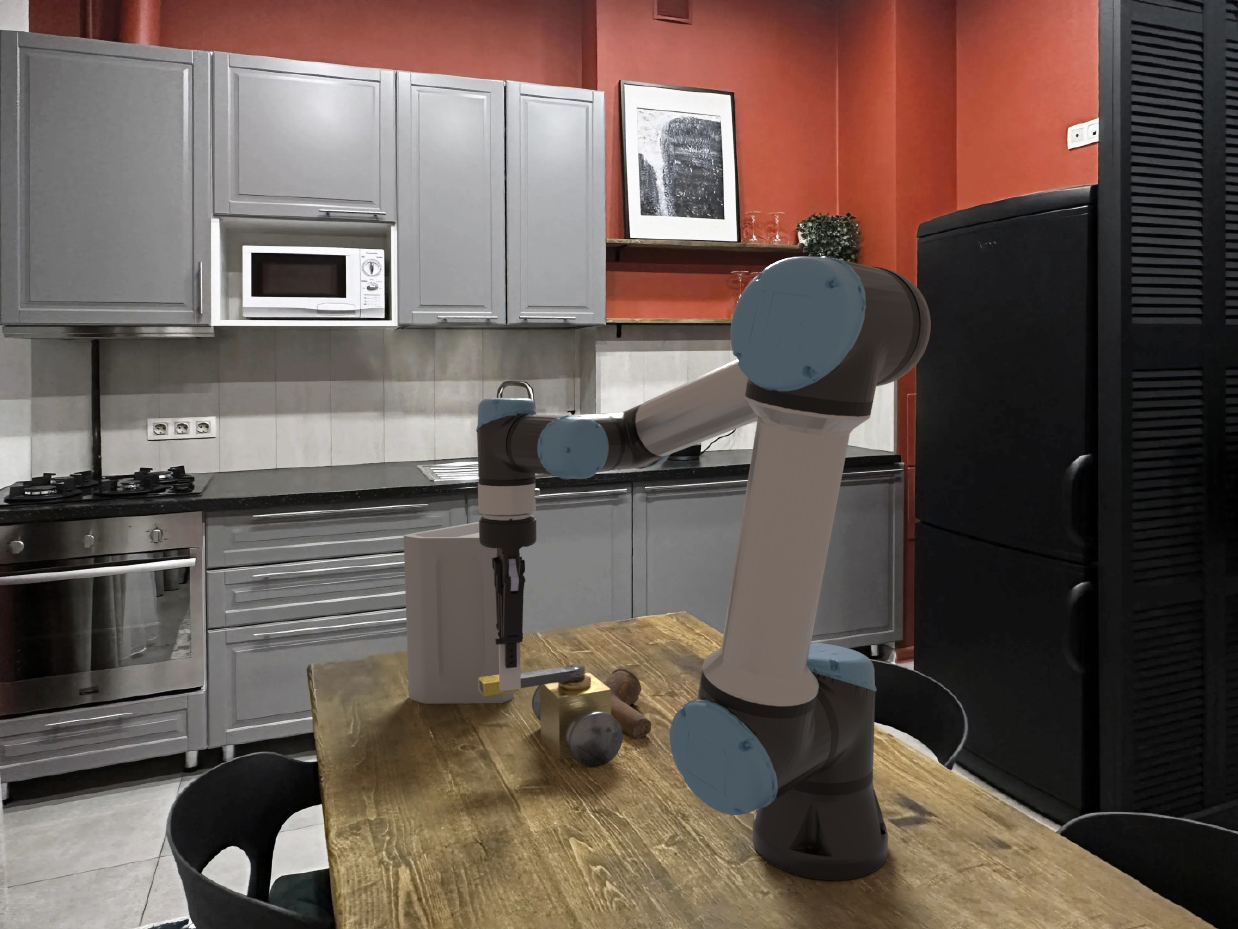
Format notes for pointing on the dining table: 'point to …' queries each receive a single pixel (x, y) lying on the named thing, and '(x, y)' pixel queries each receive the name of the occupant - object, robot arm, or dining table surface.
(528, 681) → the lever
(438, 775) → the dining table surface
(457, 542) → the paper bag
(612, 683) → the pipe
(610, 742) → the valve body
